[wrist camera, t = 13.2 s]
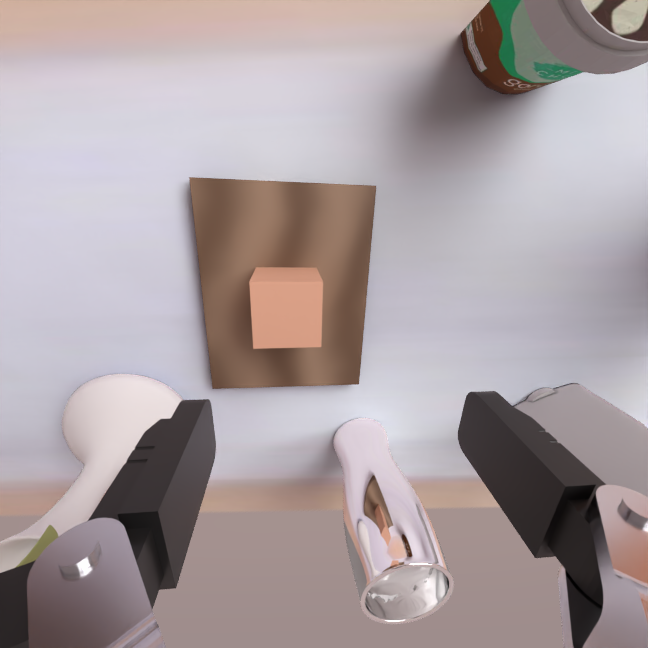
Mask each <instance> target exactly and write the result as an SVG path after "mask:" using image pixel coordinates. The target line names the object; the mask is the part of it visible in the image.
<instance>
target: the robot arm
mask: <svg viewBox="0 0 648 648" xmlns="http://www.w3.org/2000/svg"><path fill="white" fill-rule="evenodd" d="M458 440H459V444H460V447H461V449H462V451H463V453H464V454H465V456H466V457H467V459H468V460H469V462H470V463H471V465H472V466H473V467H474V469H475V470H476V472H477V473H478V475H479V476H480V478H481V479H482V481H483V482H484V484H485V485H486V487H487V488H488V489H489V491H490V492H491V494H492V495H493V497H494V498H495V500H496V501H497V503H498V504H499V506H500V507H501V508H502V510H503V511H504V513H505V514H506V516H507V517H508V519H509V520H510V522H511V523H512V525H513V526H514V527H515V529H516V530H517V532H518V533H519V535H520V536H521V538H522V539H523V541H524V542H525V544H526V545H527V547H528V548H529V549H530V551H531V552H532V554H533V555H534V557H535V558H541V557H553V556H556V557H557V559H558V560H559V561H560V563H561V566H560V568H559V571H558V582H559V595H560V606H561V619H562V632H563V643H564V644H563V645H564V648H648V497H646V496H645V495H643V494H641V493H638V492H636V491H634V490H631V489H628V488H625V487H622V486H617V485H606V484H605V483H604V482H603V481H602V480H601V479H600V478H599V477H597V476H596V475H595V474H594V473H593V472H592V471H591V470H590V469H589V468H587V467H586V466H585V465H584V464H583V463H582V462H581V461H580V460H579V459H577V458H576V457H575V456H574V455H573V454H572V453H571V452H570V451H569V450H567V449H566V448H565V447H564V446H563V445H562V444H561V443H558V442H557V440H556V439H555V438H554V437H553V436H552V435H551V434H550V433H549V432H546V431H545V429H544V428H543V427H542V426H541V425H540V424H539V423H537V422H536V421H535V420H534V419H533V418H532V417H530V416H529V415H527V414H525V413H523V412H522V411H520V410H518V409H517V408H515V407H512V406H511V405H510V404H509V403H508V402H507V401H506V400H505V399H504V398H503V397H502V396H501V395H499V394H498V393H497V392H494V391H488V392H470V393H468V395H467V396H466V400H465V404H464V408H463V412H462V417H461V421H460V425H459V430H458ZM215 450H216V441H215V432H214V424H213V416H212V408H211V403H210V400H208V399H207V400H182V401H181V402H180V403H179V405H178V406H177V408H176V410H175V412H174V414H173V415H172V417H171V418H170V419H160V420H159V421H157V422H156V423H155V424H154V425H153V426H151V427H150V428H149V429H148V430H146V431H145V432H144V434H143V435H142V437H141V439H140V440H139V442H138V443H137V445H136V446H135V450H133V451H132V453H131V454H130V456H129V457H128V459H127V462H126V464H124V465H123V467H122V468H121V470H120V471H119V473H118V474H117V476H116V478H115V479H114V481H113V482H112V484H111V485H110V487H109V489H108V490H107V492H106V493H105V495H104V496H103V498H102V499H101V501H100V503H99V504H98V506H97V507H96V509H95V510H94V512H93V514H92V515H91V517H90V518H89V519H88V521H86V522H83V523H81V524H79V525H77V526H75V527H73V528H71V529H69V530H68V531H66V532H65V533H63V534H62V535H60V536H59V537H58V538H56V539H55V540H54V541H53V542H52V543H51V544H50V545H49V546H47V547H46V548H45V549H44V551H43V552H42V553H41V554H40V555H39V557H38V558H37V560H35V561H32V562H30V563H27V564H25V565H22V566H19V567H16V568H13V569H10V570H7V571H4V572H2V573H0V648H166V646H165V643H164V641H163V638H162V635H161V632H160V629H159V626H158V625H157V622H156V620H155V617H154V614H153V611H152V609H153V606H154V603H155V600H156V597H157V594H158V591H159V590H160V589H171V588H176V586H177V583H178V580H179V576H180V573H181V569H182V566H183V563H184V560H185V556H186V553H187V550H188V546H189V543H190V540H191V537H192V533H193V530H194V527H195V523H196V520H197V517H198V513H199V510H200V507H201V503H202V500H203V497H204V493H205V490H206V487H207V483H208V480H209V477H210V473H211V470H212V467H213V463H214V459H215Z"/></svg>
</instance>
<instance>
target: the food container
mask: <svg viewBox="0 0 648 648" xmlns="http://www.w3.org/2000/svg"><path fill="white" fill-rule="evenodd" d="M461 38H462V43H463V49H464V53H465V55H466V57H467V60H468V62H469V64H470V66H471V69H472V71H473V73H474V74H475V75H476V76H477V77H478V78H479V79H480V80H481V81H482V82H483V83H484V84H485V86H486V87H488V88H490V89H493V90H495V91H497V92H500V93H502V94H520V93H524V92H528V91H531V90H534V89H536V88H539V87H542V86H545V85H548V84H551V83H554V82H557V81H559V80H562V79H565V78H568V77H571V76H574V75H577V74H579V73H582V72H588V73H593V74H612V73H617V72H621V71H625V70H629V69H632V68H634V67H637V66H639V65H641V64H643V63H646V62H648V0H490V1H489V2H488V3H487V4H486V5H485V7H484V8H483V9H482V10H481V11H480V12H479V13H478V14H477V16H476V17H475V18H474V19H473V20H472V21H471V22H470V23H469V25H468V26H467V27H466V28H465V29H464V30H463V31H462V32H461Z"/></svg>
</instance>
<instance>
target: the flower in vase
mask: <svg viewBox="0 0 648 648" xmlns="http://www.w3.org/2000/svg"><path fill="white" fill-rule="evenodd" d="M182 400H183V399H182V397H181V396H180V395H179V394H178V393H177V392H175V391H174V390H173V389H172V388H170V387H169V386H167V385H165V384H164V383H162V382H159V381H157V380H155V379H152V378H149V377H145V376H141V375H133V374H112V375H106V376H101V377H98V378H95V379H93V380H90V381H88V382H87V383H85V384H83V385H82V386H80V387H79V388H78V389H77V390H76V391H75V392H74V393H73V394H72V395H71V397H70V398H69V400H68V402H67V404H66V407H65V410H64V413H63V417H62V431H63V434H64V437H65V440H66V442H67V444H68V446H69V448H70V450H71V451H72V453H73V454H74V455H75V456H76V458H77V459H78V460H79V461H81V462H82V463H83V464H84V467H83V469H82V471H81V473H80V475H79V476H78V478H77V479H76V481H75V482H74V483H73V485H72V486H71V487H70V488H69V490H68V491H67V492H66V493H65V494H64V496H63V497H62V498H61V499H60V500H59V501H58V502H57V503H56V504H55V505H54V506H53V507H52V508H51V509H50V510H49V511H48V512H47V513H46V514H45V515H44V516H43V517H42V518H40V519H39V520H38V521H37V522H36V523H34V524H33V525H31V526H30V527H29V528H27V529H26V530H24V531H22V532H20V533H18V534H16V535H14V536H12V537H9V538H7V539H4V540H2V541H1V542H0V573H2V572H4V571H7V570H10V569H13V568H16V567H19V566H22V565H25V564H27V563H30V562H32V561H35V560H37V558H38V557H39V555H40V554H41V553H42V552H43V551H44V549H45V548H46V547H47V546H49V545H50V544H51V543H52V542H53V541H54V540H55V539H56V538H58V537H59V536H60V535H62V534H63V533H65V532H66V531H68V530H69V529H71V528H73V527H75V526H77V525H79V524H81V523H83V522H86V521H88V519H89V518H90V517H91V515H92V514H93V512H94V510H95V509H96V507H97V506H98V504H99V502H100V501H101V499H102V497H103V495H104V494H105V492H106V491H107V489H108V488H109V487H110V485H111V484H112V482H113V481H114V479H115V478H116V476H117V474H118V473H119V471H120V470H121V468H122V467H123V465H124V464H126V462H127V459H128V457H129V456H130V454H131V453H132V451H133V450H135V446H136V445H137V443H138V442H139V440H140V439H141V437H142V435H143V434H144V432H145V431H146V430H148V429H149V428H150V427H151V426H153V425H154V424H155V423H156V422H157V421H159V420H160V419H170V418H171V417H172V415H173V414H174V412H175V410H176V408H177V406H178V405H179V403H180V402H181V401H182Z"/></svg>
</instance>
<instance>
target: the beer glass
mask: <svg viewBox="0 0 648 648" xmlns="http://www.w3.org/2000/svg"><path fill="white" fill-rule="evenodd" d="M333 446H334V450H335V452H336V454H337V457H338V459H339V461H340V464H341V467H342V472H343V514H344V528H345V536H346V543H347V548H348V553H349V558H350V562H351V566H352V570H353V575H354V579H355V582H356V586H357V590H358V594H359V597H360V604H361V608H362V610H363V612H364V613H365V615H366V616H368V617H369V618H371V619H372V620H374V621H377V622H381V623H386V624H402V623H408V622H412V621H416V620H419V619H421V618H424V617H426V616H428V615H430V614H432V613H433V612H435V611H437V610H438V609H439V608H440V607H442V606H443V605H444V604H445V603H446V602H447V600H448V599H449V598H450V596H451V594H452V592H453V589H454V580H453V577H452V575H451V573H450V571H449V568H448V565H447V563H446V560H445V557H444V554H443V551H442V549H441V546H440V543H439V540H438V538H437V535H436V533H435V530H434V528H433V526H432V523H431V521H430V518H429V516H428V514H427V512H426V510H425V508H424V506H423V504H422V502H421V501H420V499H419V497H418V496H417V494H416V492H415V491H414V489H413V487H412V486H411V484H410V483H409V481H408V480H407V478H406V477H405V476H404V474H403V473H402V471H401V470H400V468H399V467H398V465H397V464H396V462H395V461H394V459H393V457H392V455H391V453H390V449H389V444H388V438H387V434H386V431H385V429H384V427H383V426H382V425H381V424H380V423H379V422H377V421H376V420H373V419H370V418H357V419H353V420H350V421H348V422H346V423H345V424H343V425H342V426H341V427H340V428H339V429H338V430H337V432H336V434H335V436H334V440H333Z"/></svg>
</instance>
